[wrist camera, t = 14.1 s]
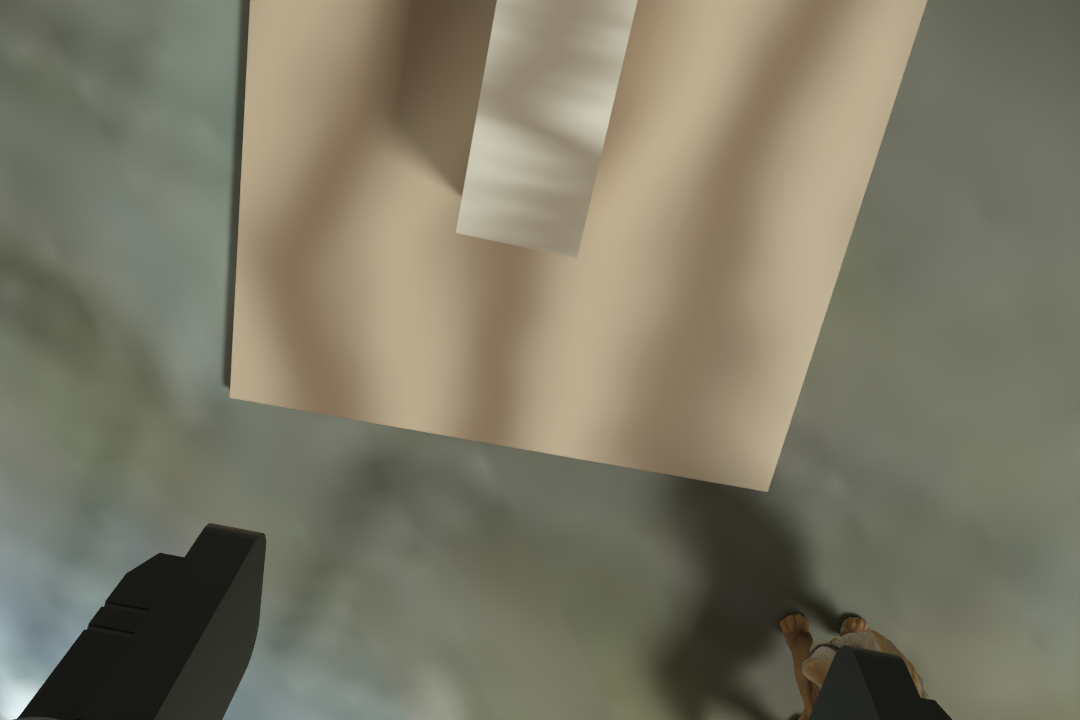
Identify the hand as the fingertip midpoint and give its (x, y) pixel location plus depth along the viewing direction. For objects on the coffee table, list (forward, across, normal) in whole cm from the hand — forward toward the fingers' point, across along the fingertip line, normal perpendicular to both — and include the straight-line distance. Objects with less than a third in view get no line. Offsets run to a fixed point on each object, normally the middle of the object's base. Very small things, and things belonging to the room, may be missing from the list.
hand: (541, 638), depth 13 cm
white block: (+21, +2, 0) cm, 21 cm away
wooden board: (+23, +1, 0) cm, 23 cm away
